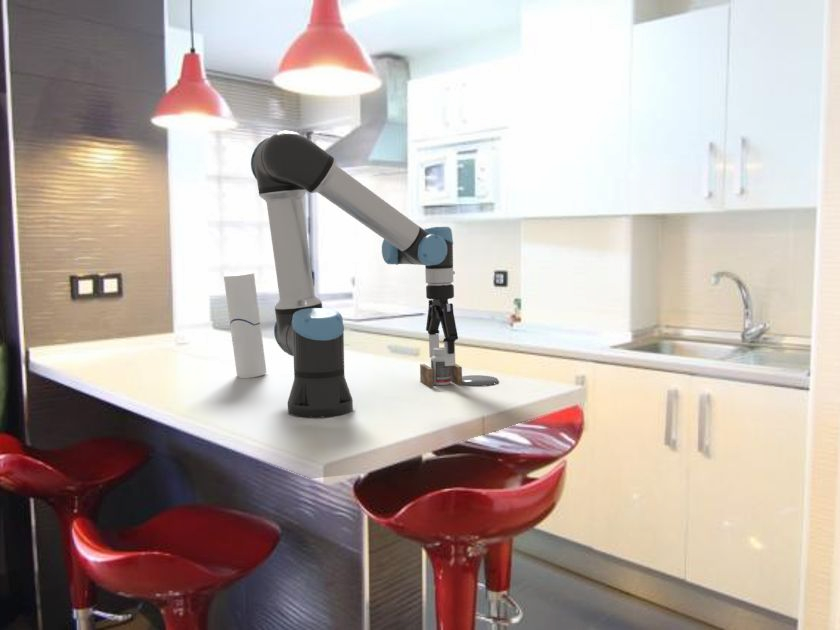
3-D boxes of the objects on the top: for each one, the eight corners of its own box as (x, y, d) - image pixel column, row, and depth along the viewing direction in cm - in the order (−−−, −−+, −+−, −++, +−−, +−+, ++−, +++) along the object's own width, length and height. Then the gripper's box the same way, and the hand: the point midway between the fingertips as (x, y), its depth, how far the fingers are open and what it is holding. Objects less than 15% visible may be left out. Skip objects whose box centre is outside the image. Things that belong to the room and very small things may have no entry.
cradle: (462, 385, 190) (461, 366, 189) (428, 387, 187) (428, 369, 187) (452, 379, 198) (452, 362, 197) (420, 381, 195) (420, 364, 194)
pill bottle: (454, 382, 193) (454, 347, 192) (443, 386, 189) (443, 350, 188) (438, 380, 196) (437, 346, 195) (427, 384, 192) (426, 349, 191)
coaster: (504, 384, 190) (504, 382, 190) (463, 387, 187) (463, 385, 187) (488, 376, 202) (488, 374, 202) (448, 379, 198) (448, 377, 198)
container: (258, 377, 203) (245, 275, 198) (231, 378, 205) (218, 276, 200) (271, 369, 211) (259, 271, 206) (245, 370, 213) (232, 272, 208)
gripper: (469, 286, 179) (470, 368, 181) (438, 280, 202) (440, 353, 205) (441, 287, 176) (443, 370, 179) (413, 282, 200) (416, 355, 203)
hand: (442, 361), depth 192 cm, fingers open, 13 cm apart
